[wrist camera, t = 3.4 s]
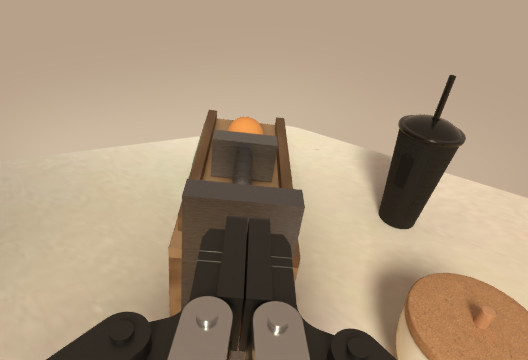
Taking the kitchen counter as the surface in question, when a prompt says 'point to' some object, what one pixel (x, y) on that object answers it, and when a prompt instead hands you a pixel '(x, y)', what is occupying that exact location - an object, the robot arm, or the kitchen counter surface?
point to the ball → (246, 126)
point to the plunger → (236, 196)
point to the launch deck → (203, 172)
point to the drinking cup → (418, 163)
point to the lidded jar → (460, 321)
